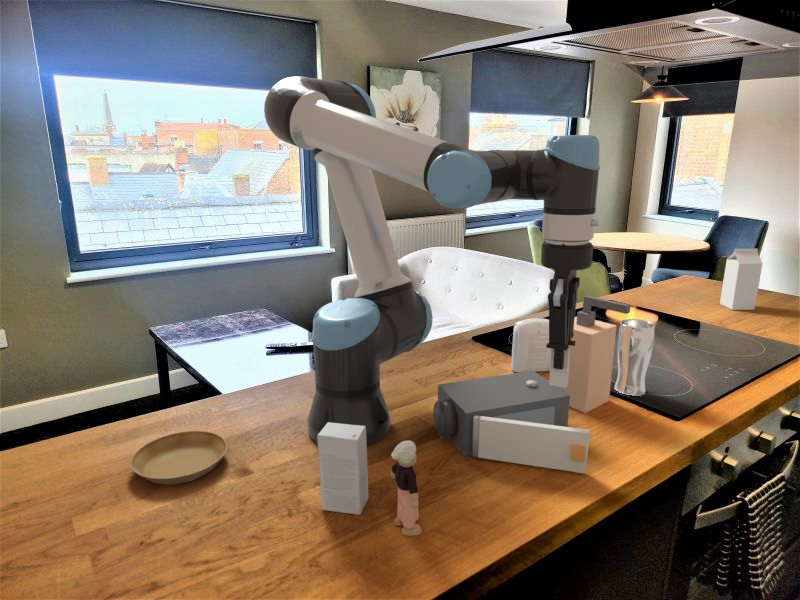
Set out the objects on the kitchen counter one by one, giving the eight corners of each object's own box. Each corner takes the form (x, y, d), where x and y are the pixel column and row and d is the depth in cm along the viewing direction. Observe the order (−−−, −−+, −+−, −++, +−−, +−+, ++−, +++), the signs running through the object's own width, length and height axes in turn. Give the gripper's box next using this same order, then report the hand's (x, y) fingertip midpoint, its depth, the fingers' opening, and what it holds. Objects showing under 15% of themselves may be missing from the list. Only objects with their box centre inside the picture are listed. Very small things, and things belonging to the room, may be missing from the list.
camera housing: (452, 459, 92) (453, 412, 90) (426, 425, 103) (426, 383, 101) (566, 436, 99) (570, 392, 97) (530, 407, 110) (533, 367, 108)
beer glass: (620, 381, 122) (628, 316, 118) (652, 390, 118) (661, 323, 114) (606, 390, 118) (613, 323, 114) (639, 401, 113) (647, 331, 109)
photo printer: (550, 364, 132) (553, 315, 129) (557, 371, 128) (561, 320, 124) (508, 367, 131) (511, 317, 127) (514, 374, 126) (517, 322, 123)
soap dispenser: (548, 398, 114) (556, 295, 108) (572, 387, 119) (581, 288, 114) (604, 421, 105) (616, 309, 99) (628, 408, 110) (640, 301, 104)
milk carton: (754, 310, 174) (764, 250, 169) (731, 310, 174) (741, 250, 169) (741, 304, 181) (751, 246, 176) (719, 304, 181) (728, 246, 176)
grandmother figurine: (434, 533, 75) (435, 449, 71) (411, 545, 72) (411, 459, 69) (401, 504, 81) (400, 426, 77) (379, 514, 79) (377, 434, 75)
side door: (470, 459, 91) (472, 420, 89) (472, 452, 93) (473, 415, 91) (586, 476, 86) (589, 436, 85) (585, 469, 88) (589, 429, 86)
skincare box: (369, 498, 82) (367, 425, 79) (360, 516, 78) (358, 440, 75) (330, 493, 84) (327, 421, 80) (320, 510, 80) (316, 435, 76)
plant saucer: (158, 442, 99) (156, 429, 98) (240, 443, 98) (238, 430, 97) (114, 492, 84) (111, 477, 84) (210, 494, 84) (208, 479, 83)
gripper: (586, 249, 77) (575, 405, 83) (599, 236, 88) (588, 374, 94) (532, 246, 80) (525, 396, 86) (551, 233, 91) (544, 367, 98)
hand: (558, 384), depth 90 cm, fingers closed
